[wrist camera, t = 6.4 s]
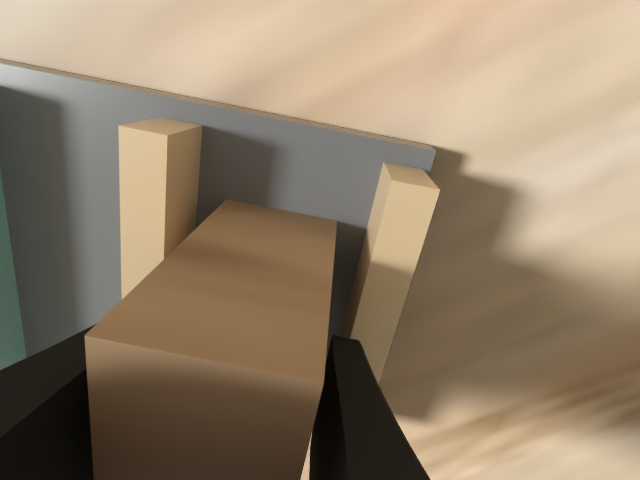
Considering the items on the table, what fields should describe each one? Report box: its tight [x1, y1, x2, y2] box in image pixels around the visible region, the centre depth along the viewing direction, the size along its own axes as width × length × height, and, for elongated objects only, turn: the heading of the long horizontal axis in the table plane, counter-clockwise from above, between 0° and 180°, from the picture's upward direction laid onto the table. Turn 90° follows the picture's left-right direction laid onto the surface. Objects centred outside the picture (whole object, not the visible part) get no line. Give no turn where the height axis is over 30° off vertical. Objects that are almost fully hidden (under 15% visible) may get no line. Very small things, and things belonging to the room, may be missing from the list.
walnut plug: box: [85, 199, 337, 480], centre depth 8 cm, size 5×3×6 cm, turn 170°
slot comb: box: [0, 59, 440, 430], centre depth 11 cm, size 10×18×3 cm, turn 80°
